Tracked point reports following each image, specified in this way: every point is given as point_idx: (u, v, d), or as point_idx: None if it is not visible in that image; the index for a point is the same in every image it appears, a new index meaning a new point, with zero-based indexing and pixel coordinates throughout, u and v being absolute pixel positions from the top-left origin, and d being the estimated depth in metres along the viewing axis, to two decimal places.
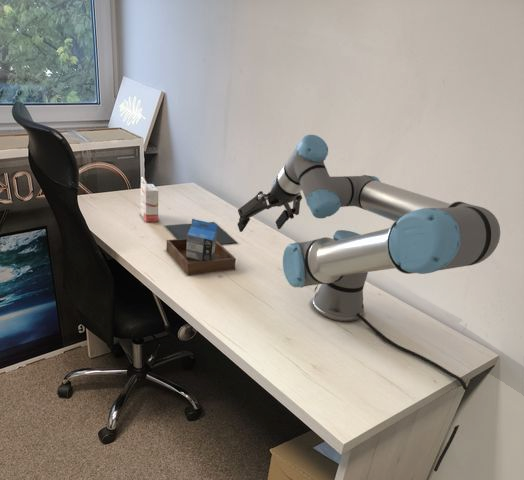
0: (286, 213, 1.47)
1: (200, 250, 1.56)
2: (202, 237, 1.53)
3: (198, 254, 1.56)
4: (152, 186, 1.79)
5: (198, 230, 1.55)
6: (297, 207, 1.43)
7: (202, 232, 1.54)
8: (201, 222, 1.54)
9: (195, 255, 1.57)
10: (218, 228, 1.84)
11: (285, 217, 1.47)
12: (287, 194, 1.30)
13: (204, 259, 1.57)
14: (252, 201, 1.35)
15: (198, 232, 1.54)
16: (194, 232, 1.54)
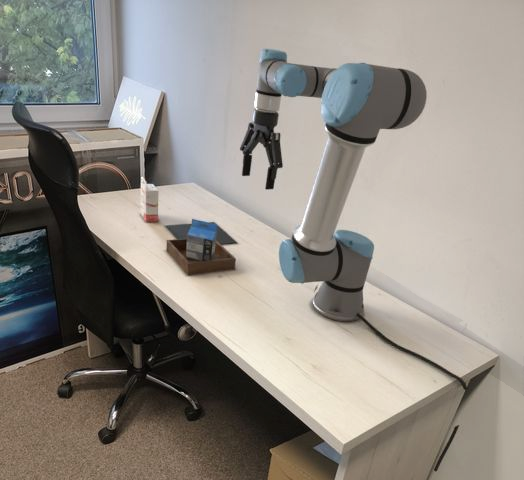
0: None
1: (200, 250, 1.56)
2: (202, 237, 1.53)
3: (198, 254, 1.56)
4: (152, 186, 1.79)
5: (198, 230, 1.55)
6: (273, 152, 1.43)
7: (202, 232, 1.54)
8: (201, 222, 1.54)
9: (195, 255, 1.57)
10: (218, 228, 1.84)
11: None
12: None
13: (204, 259, 1.57)
14: None
15: (198, 232, 1.54)
16: (194, 232, 1.54)
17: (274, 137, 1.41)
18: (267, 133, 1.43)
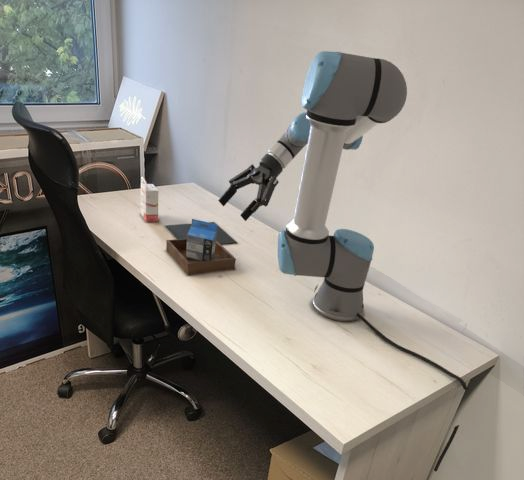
0: None
1: (200, 250, 1.56)
2: (202, 237, 1.53)
3: (198, 254, 1.56)
4: (152, 186, 1.79)
5: (198, 230, 1.55)
6: (266, 189, 1.50)
7: (202, 232, 1.54)
8: (201, 222, 1.54)
9: (195, 255, 1.57)
10: (218, 228, 1.84)
11: None
12: None
13: (204, 259, 1.57)
14: None
15: (198, 232, 1.54)
16: (194, 232, 1.54)
17: (273, 180, 1.51)
18: (267, 175, 1.53)
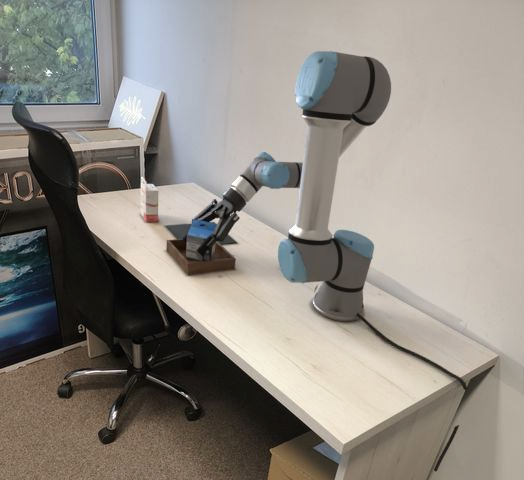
0: None
1: None
2: (202, 237, 1.53)
3: (198, 254, 1.56)
4: (152, 186, 1.79)
5: (198, 230, 1.55)
6: (224, 225, 1.50)
7: (202, 232, 1.54)
8: (201, 222, 1.54)
9: (195, 255, 1.57)
10: None
11: None
12: None
13: (204, 259, 1.57)
14: None
15: (198, 232, 1.54)
16: (194, 232, 1.54)
17: (233, 216, 1.50)
18: (230, 209, 1.52)
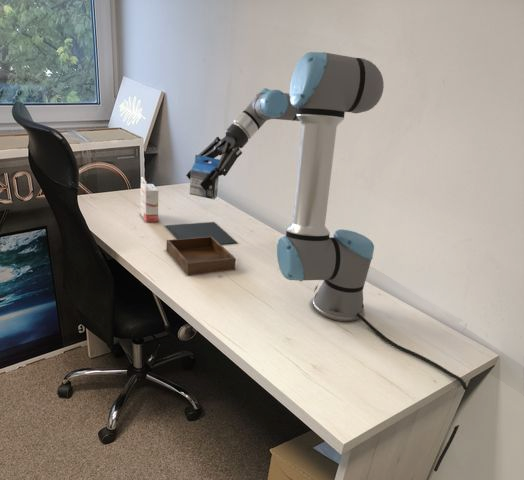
0: None
1: None
2: (206, 172, 1.57)
3: (201, 190, 1.60)
4: (152, 186, 1.79)
5: (201, 166, 1.59)
6: (227, 159, 1.54)
7: (205, 168, 1.58)
8: (204, 158, 1.58)
9: (199, 191, 1.61)
10: (218, 228, 1.84)
11: None
12: None
13: (207, 195, 1.61)
14: None
15: (201, 168, 1.58)
16: (198, 167, 1.58)
17: (236, 150, 1.54)
18: (233, 145, 1.56)
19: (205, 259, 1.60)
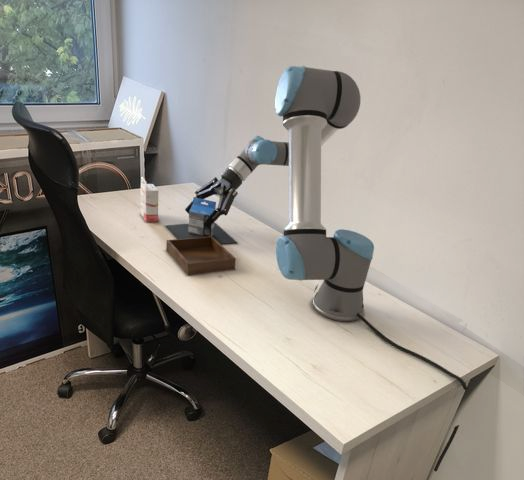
0: None
1: (200, 225, 1.73)
2: (203, 213, 1.71)
3: (199, 229, 1.74)
4: (152, 186, 1.79)
5: (199, 207, 1.72)
6: (226, 200, 1.67)
7: (202, 209, 1.72)
8: (202, 200, 1.72)
9: (196, 230, 1.75)
10: (218, 228, 1.84)
11: None
12: None
13: (204, 233, 1.75)
14: None
15: (199, 209, 1.72)
16: (196, 209, 1.72)
17: (233, 191, 1.67)
18: (228, 187, 1.69)
19: (205, 259, 1.60)
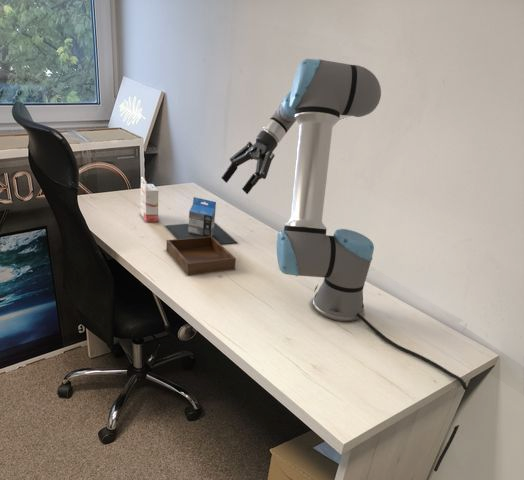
0: None
1: (200, 225, 1.73)
2: (203, 213, 1.71)
3: (199, 229, 1.74)
4: (152, 186, 1.79)
5: (199, 207, 1.72)
6: (264, 163, 1.65)
7: (202, 209, 1.72)
8: (202, 200, 1.72)
9: (196, 230, 1.75)
10: (218, 228, 1.84)
11: None
12: None
13: (204, 233, 1.75)
14: None
15: (199, 209, 1.72)
16: (196, 209, 1.72)
17: (270, 154, 1.65)
18: (264, 150, 1.67)
19: (205, 259, 1.60)
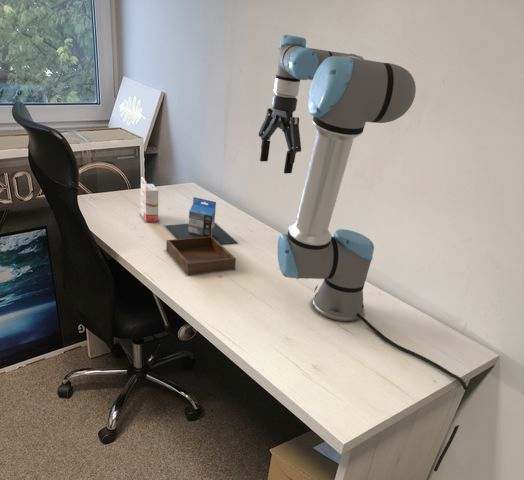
0: None
1: (200, 225, 1.73)
2: (203, 213, 1.71)
3: (199, 229, 1.74)
4: (152, 186, 1.79)
5: (199, 207, 1.72)
6: (292, 136, 1.47)
7: (202, 209, 1.72)
8: (202, 200, 1.72)
9: (196, 230, 1.75)
10: (218, 228, 1.84)
11: None
12: (274, 95, 1.46)
13: (204, 233, 1.75)
14: None
15: (199, 209, 1.72)
16: (196, 209, 1.72)
17: (293, 121, 1.45)
18: (286, 118, 1.47)
19: (205, 259, 1.60)
